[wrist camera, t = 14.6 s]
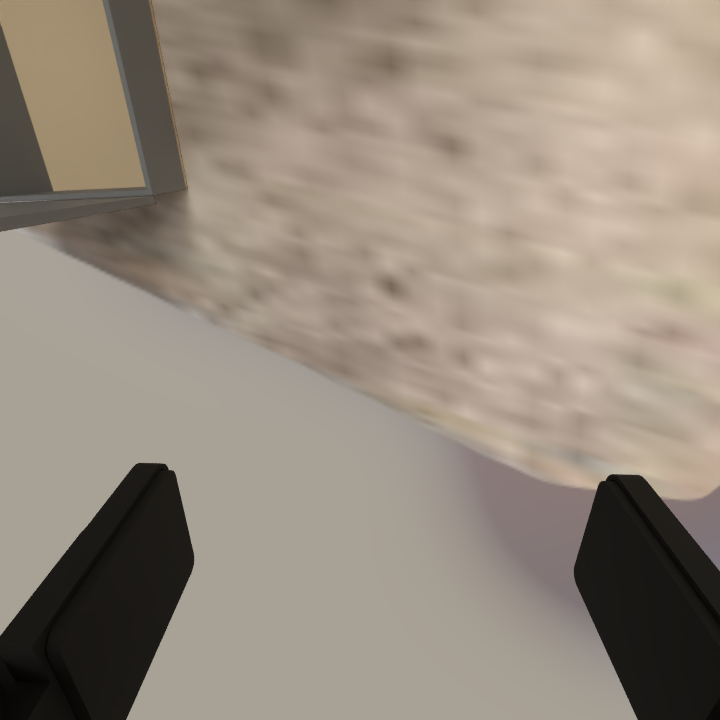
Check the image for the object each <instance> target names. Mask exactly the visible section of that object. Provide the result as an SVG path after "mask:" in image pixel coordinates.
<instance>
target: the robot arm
mask: <svg viewBox="0 0 720 720" xmlns="http://www.w3.org/2000/svg"><path fill="white" fill-rule="evenodd" d="M193 565H194V553H193V548H192V544H191V540H190V535H189V531H188V527H187V522H186V518H185V513H184V510H183V505H182V500H181V496H180V492H179V488H178V483H177V479H176V475H175V472H174V471H172V470H168V467H167V466H166V464H159V463H138V464H136V465H135V466H134V467H133V468H132V469H131V470H130V472H129V473H128V474H127V476H126V477H125V478H124V480H123V481H122V482H121V483H120V485H119V486H118V487H117V488H116V490H115V491H114V493H113V494H112V495H111V496H110V497H109V499H108V500H107V501H106V503H105V504H104V505H103V506H102V508H101V509H100V510H99V512H98V513H97V514H96V516H95V517H94V518H93V519H92V521H91V522H90V523H89V525H88V526H87V527H86V528H85V529H84V530H83V531H82V532H81V533H80V534H79V536H78V537H77V538H76V540H75V541H74V542H73V544H72V545H71V546H70V547H69V549H68V550H67V551H66V553H65V554H64V555H63V556H62V557H61V559H60V560H59V562H58V563H57V564H56V565H55V566H54V568H53V569H52V570H51V572H50V573H49V574H48V576H47V577H46V578H45V579H44V581H43V582H42V583H41V584H40V586H39V587H38V588H37V590H36V591H35V592H34V593H33V595H32V596H31V597H30V599H29V600H28V601H27V602H26V604H25V605H24V606H23V607H22V609H21V610H20V611H19V613H18V614H17V615H16V617H15V618H14V619H13V620H12V622H11V623H10V624H9V625H8V627H7V628H6V629H5V631H4V632H3V633H2V634H1V636H0V720H126V719H127V716H128V714H129V712H130V710H131V707H132V705H133V703H134V701H135V698H136V696H137V694H138V691H139V689H140V687H141V685H142V683H143V680H144V678H145V676H146V674H147V671H148V669H149V667H150V665H151V662H152V660H153V658H154V656H155V653H156V651H157V649H158V647H159V644H160V642H161V640H162V638H163V635H164V633H165V631H166V629H167V626H168V624H169V622H170V620H171V617H172V615H173V613H174V611H175V608H176V606H177V604H178V602H179V599H180V597H181V595H182V593H183V590H184V588H185V586H186V583H187V581H188V579H189V577H190V575H191V572H192V569H193ZM574 578H575V582H576V585H577V587H578V589H579V592H580V594H581V596H582V598H583V600H584V602H585V605H586V607H587V609H588V611H589V614H590V616H591V618H592V620H593V622H594V624H595V627H596V629H597V631H598V633H599V636H600V638H601V640H602V642H603V644H604V646H605V649H606V651H607V653H608V655H609V657H610V660H611V662H612V664H613V666H614V668H615V671H616V673H617V675H618V677H619V679H620V682H621V684H622V686H623V688H624V690H625V692H626V695H627V697H628V699H629V701H630V704H631V706H632V708H633V710H634V712H635V715H636V717H637V719H638V720H720V571H719V570H718V569H717V567H716V566H715V565H714V564H713V562H712V561H711V560H710V559H709V557H708V556H707V555H706V554H705V553H704V551H703V550H702V549H701V548H700V546H699V545H698V544H697V543H696V541H695V540H694V539H693V538H692V536H691V535H690V534H689V533H688V532H687V530H686V529H685V528H684V527H683V525H682V524H681V523H680V522H679V521H678V519H677V518H676V517H675V516H674V514H673V513H672V512H671V511H670V509H669V508H668V507H667V506H666V504H665V503H664V502H663V501H662V499H661V498H660V497H659V496H658V495H657V493H656V492H655V491H654V490H653V488H652V487H651V486H650V485H649V483H648V482H647V481H646V480H645V479H644V478H643V477H642V476H640V475H618V474H612V475H609V476H608V477H607V479H606V481H601V482H600V483H599V485H598V488H597V492H596V495H595V498H594V502H593V505H592V509H591V512H590V515H589V519H588V522H587V525H586V529H585V532H584V536H583V539H582V542H581V546H580V549H579V553H578V556H577V560H576V563H575V566H574Z"/></svg>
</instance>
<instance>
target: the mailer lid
mask: <svg viewBox="0 0 720 720" xmlns="http://www.w3.org/2000/svg"><path fill="white" fill-rule="evenodd" d="M152 204H156V202H155V198H154V196H139V197H118V198H96V199H75V200H54V201H32V202H11V203H0V232H1V231H7V230H12V229H18V228H23V227H29V226H35V225H40V224H46V223H51V222H57V221H63V220H68V219H74V218H79V217H85V216H91V215H96V214H102V213H107V212H113V211H119V210H124V209H130V208H135V207H141V206H147V205H152Z"/></svg>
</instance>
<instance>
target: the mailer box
mask: <svg viewBox="0 0 720 720" xmlns="http://www.w3.org/2000/svg"><path fill="white" fill-rule="evenodd" d="M186 189H188V187H187V182H186V177H185V172H184V167H183V162H182V157H181V152H180V147H179V142H178V136H177V131H176V126H175V121H174V116H173V111H172V106H171V101H170V96H169V90H168V85H167V80H166V75H165V70H164V65H163V60H162V55H161V50H160V45H159V39H158V34H157V29H156V24H155V19H154V14H153V9H152V4H151V0H0V202H18V201H39V200H61V199H82V198H103V197H125V196H146V195H157V194H162V193H168V192H174V191H180V190H186Z"/></svg>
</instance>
